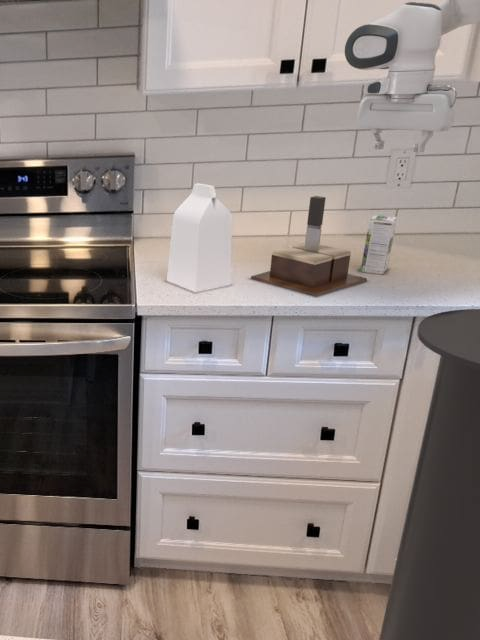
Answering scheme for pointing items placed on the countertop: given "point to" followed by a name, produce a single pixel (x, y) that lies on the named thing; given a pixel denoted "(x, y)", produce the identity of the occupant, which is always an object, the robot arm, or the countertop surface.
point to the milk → (201, 242)
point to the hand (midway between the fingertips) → (397, 150)
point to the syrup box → (378, 244)
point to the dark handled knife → (314, 223)
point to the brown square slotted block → (310, 270)
